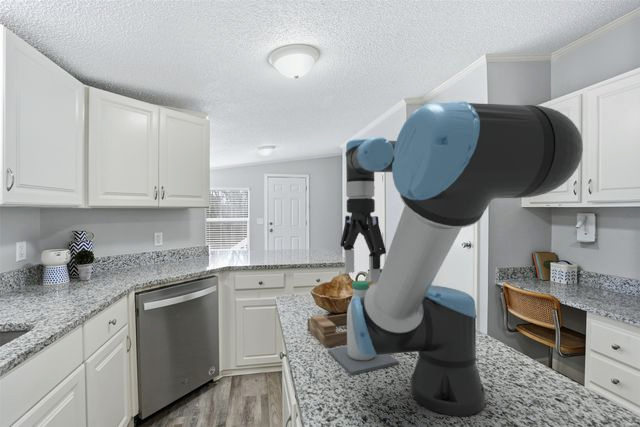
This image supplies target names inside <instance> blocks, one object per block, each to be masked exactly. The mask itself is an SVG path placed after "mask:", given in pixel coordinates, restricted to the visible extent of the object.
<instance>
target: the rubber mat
mask: <svg viewBox="0 0 640 427" xmlns="http://www.w3.org/2000/svg"><path fill="white" fill-rule="evenodd" d="M327 353H328V354H329V356H330V357H332V358H333V359H334V360H335V362H337V363H338V365H340V366H341V367H342V369H344V370H345V371H346V372H347V373H348V374H349V375H350V376H355V375H359V374H362V373H367V372H371V371H376V370H380V369H384V368H388V367H394V366H399V364H400V363H399V362H400V361H399V360H397V359H396V358H395V357H393V356H391V354H384V355H378V356H375V357H374V358H372V359H370V360H364V361H361V360H355V359H352V358H350V357H349V356H348V354H347V345H346V346H345V345H344V346H342V347H341V346H339V347H336V348H330V349H329V348H328V349H327Z"/></svg>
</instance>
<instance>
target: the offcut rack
mask: <svg viewBox="0 0 640 427" xmlns="http://www.w3.org/2000/svg"><path fill="white" fill-rule="evenodd" d="M350 302H351V300H347V301H346V312H347V311H348V306H349V304H350ZM343 326H347V313H341V314H336V315H329V316H328V315H327V316H325V315H323V314H318V315H311V316H310V318H308V319H307V330H308V331H309V332H310V333H311V334H312V335H313V336H314V338H316V339H317V340H318V342H320V343H322V345H323V346H324V347H325V348H327V349H329V348H333V347H341V346H343V345H344V346H345V345H347V330H344V331H338V332H337V327H343Z"/></svg>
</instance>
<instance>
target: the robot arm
mask: <svg viewBox="0 0 640 427" xmlns="http://www.w3.org/2000/svg"><path fill="white" fill-rule="evenodd" d="M345 149H346V150H345V159H346V160H345V162H346V163H345V164H346V171H345V172H346V173H345V174H346V176H345V177H346V182H345V185H346V186H345V187H346V188H345V189H346V190H345V191H346V192H345V193H346V197H347V198H348V199H347V200H346V212H347V213H349V214H350V215H345V217H344V218H345V219H344V220H345V221H344V226H343V231H342V235H341V241H340V247H342V248H343V250H344V273H345V274H347V273H348V274H349V273H355V247H354V245H355V244H356V240H357V239H358V237H359V234H360V235H362V236H363V238H364V241H365V243H366V245H367V248H368V250H369V254H368V276H369V277H368V279H369V280H368V282H369V283H373V284H371V286H370V285H369V289H368V290H367V292H366V294H365V297H361V296H359V297H356V298H353V299H352V298H351V299H352V302H351V314H352V323H353V330H354V335H355V340H356V344H357V347H358V349H359V351H360V352H361V353H362V354H363V355H375V356H378V355H384V354H389V355H394V354H405V353H418V356H417V357H418V358H417V360H416V363H415V367H414V371H413V373H412V375H411V377H410V394H411V396H412V398H414V400H415V401H416V402H417V403H419V404H420V405H421V406H423V407H424V408H426V409H428V410H431V411H433V412H436V413H439V414H443V415H448V416H455V417H463V416H465V417H466V416H472V415H476V414H478V413H480V412H481V411H483V409H484V408H485V406H486V392H485V388H484V386H483V384H482V379H481V377H480V373H479V370H478V367H477V363H476V362H477V361H476V359H477V358H476V356H477V347H476V346H477V345H476V344H477V343H476V342H477V340H476V339H477V337H476V336H477V334H476V333H477V326H476V325H477V322H476V320H477V318H478V315H477V311H476V310H477V309H476V301H475V299H474V298H473V296H472V295H470V294H469V293H467V292H465V291H461V290H460V289H455V288H451V287H447V286H440V285H434V284H433V282H434V280H435V278H436V277H437V275H438V273H439V272H440V269H441V267H442V266H443V264H444V262H445V260H446V258H447V256H448V254H449V252H450V251H451V249H452V247H453V244H454V243H455V242H456V239H457V237H458V235H459V234H460V232H461V230H462V228H463V229H464V228H467V227H471V226H472V225H473V226H474V225H475V224H477V223H478V222H479V221H480V220H481V218H482V217H483V215H484V213H485V211H486V210H487V209H488V207H489V205H490V203H491V202H492V200H494V199H518V198H519V199H521V198H533V197H537V196H538V197H539V196H542V195H546V194H549V193H550V192H553V191H554V190H556V189H558V188H559V187H561V186H562V185H564V184H565V183H566V182H567V181H568V180H569V179H570V178H571V177H573V175H574V174H575V172H576V171H577V170H578V168H579V165H580V163H581V160H582V157H583V151H584V150H583V149H584V148H583V139H582V135H581V132H580V130H579V128H578V127H577V126H576V124H575V122H573V120H571V118H569V117H568V116H566V115H565V114H563V113H562V112H560V111H559V110H556V109H554V108H550V107H546V106H541V105H533V104H524V105H523V104H522V105H520V104H498V103H475V102H467V101H462V100H461V101H460V100H452V101H449V102H431V103H427V104H425V105H423V106H421V107H420V108H417V109H415V110H414V111H413V112H412V113H411V114H410V115H409V117H407V118H406V119H405V121H404V123H403V125H402V127H401V129H400V131H399V133H398V136H397V138H396V140H388V139H386V138H384V137H382V136H373V137H370V138H354V139H352V140H351V139H350V140H349V141H347V143H346V148H345ZM375 173H391V174H392V180H393V183H394V187H395V189H396V191H397V192H398V193H399V197H400V199H401V201H402V202H403V203H402V204H403V205H404V207H403V209H402V213H401V216H400V218H399V221H398V223H397V227H396V230H395V233H394V236H393V238H392V240H391V244H390V246H389V249H388V253H387V249H386V247H385V246H386V245H385V242H384V238H383V236H382V232H381V229H380V228H381V227H380V225H379V216H377V215H373V216H372V215H371V214H373V213H375V211H376V204H375V202H376V201H375V199H374V198H373V197H374V196H375V188H376V187H375ZM386 253H387V254H386ZM385 254H386V259H385V261H384V264H383V266H382V270H381V256H382V255H385Z"/></svg>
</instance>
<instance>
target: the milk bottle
mask: <svg viewBox="0 0 640 427" xmlns="http://www.w3.org/2000/svg"><path fill="white" fill-rule="evenodd" d="M351 284H352V285H351V286H352V290H351V291H352V296H351V299H350V301H351V302H352V299H353V298H356V297H359V296H361V297H365V294H366V292H367V290H368V289H369V287H370V282H369V281H366V280H355V281H352V283H351ZM351 302H350V304H349V306H348V311H347V310H346V314H347V325H346V331H347V344H346V346H347V354H348V356H349V357H350V358H352V359H355V360H361V361H364V360H370V359H372V358H374V357H375V355H363V354H362V353H361V352H360V351H359V349H358V347H357V344H356V340H355V335H354V330H353V323H352V314H351Z"/></svg>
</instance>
